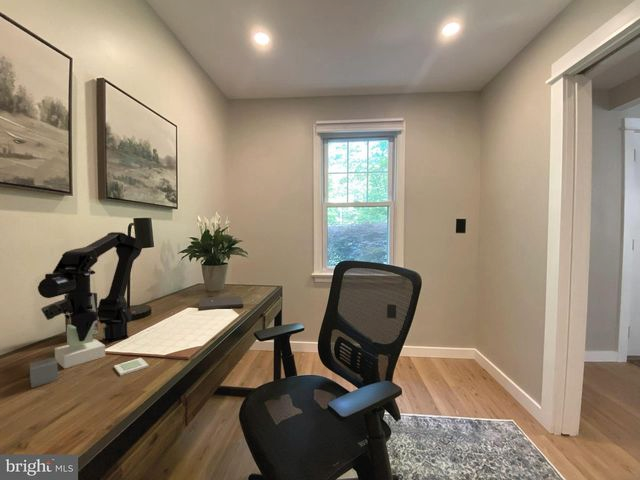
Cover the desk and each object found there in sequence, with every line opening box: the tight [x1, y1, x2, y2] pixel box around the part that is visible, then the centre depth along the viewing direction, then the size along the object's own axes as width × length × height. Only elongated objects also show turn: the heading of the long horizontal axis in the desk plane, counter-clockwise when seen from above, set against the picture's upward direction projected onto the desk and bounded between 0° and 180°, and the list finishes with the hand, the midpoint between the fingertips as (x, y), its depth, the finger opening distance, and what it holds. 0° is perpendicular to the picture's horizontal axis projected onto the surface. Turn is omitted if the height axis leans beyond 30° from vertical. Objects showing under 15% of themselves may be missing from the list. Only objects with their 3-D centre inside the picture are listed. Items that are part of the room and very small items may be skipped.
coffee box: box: [63, 292, 99, 337], centre depth 108 cm, size 9×6×16 cm
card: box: [113, 357, 149, 377], centre depth 84 cm, size 7×7×1 cm
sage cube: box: [66, 325, 93, 347], centre depth 89 cm, size 6×6×6 cm
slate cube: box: [29, 356, 59, 388], centre depth 76 cm, size 5×5×5 cm
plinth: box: [54, 338, 106, 369], centre depth 89 cm, size 10×10×4 cm
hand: (80, 338), depth 89 cm, fingers closed on sage cube, 5 cm apart
